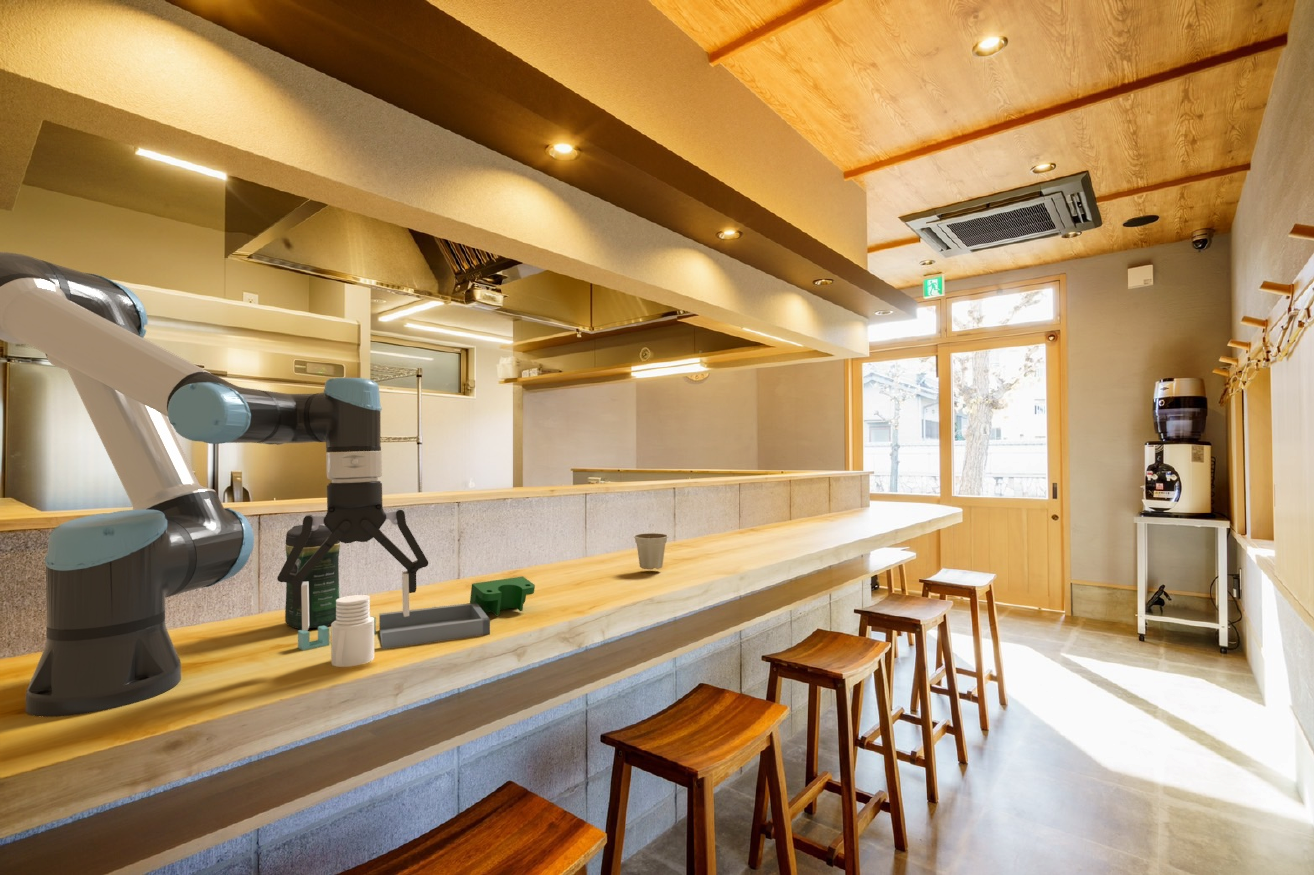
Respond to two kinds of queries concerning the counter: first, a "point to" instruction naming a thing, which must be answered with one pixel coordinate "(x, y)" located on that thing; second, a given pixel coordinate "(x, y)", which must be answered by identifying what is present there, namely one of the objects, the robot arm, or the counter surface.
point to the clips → (322, 640)
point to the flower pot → (651, 549)
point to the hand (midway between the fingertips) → (357, 621)
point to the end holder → (432, 625)
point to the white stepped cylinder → (352, 632)
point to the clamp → (501, 594)
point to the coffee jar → (314, 579)
